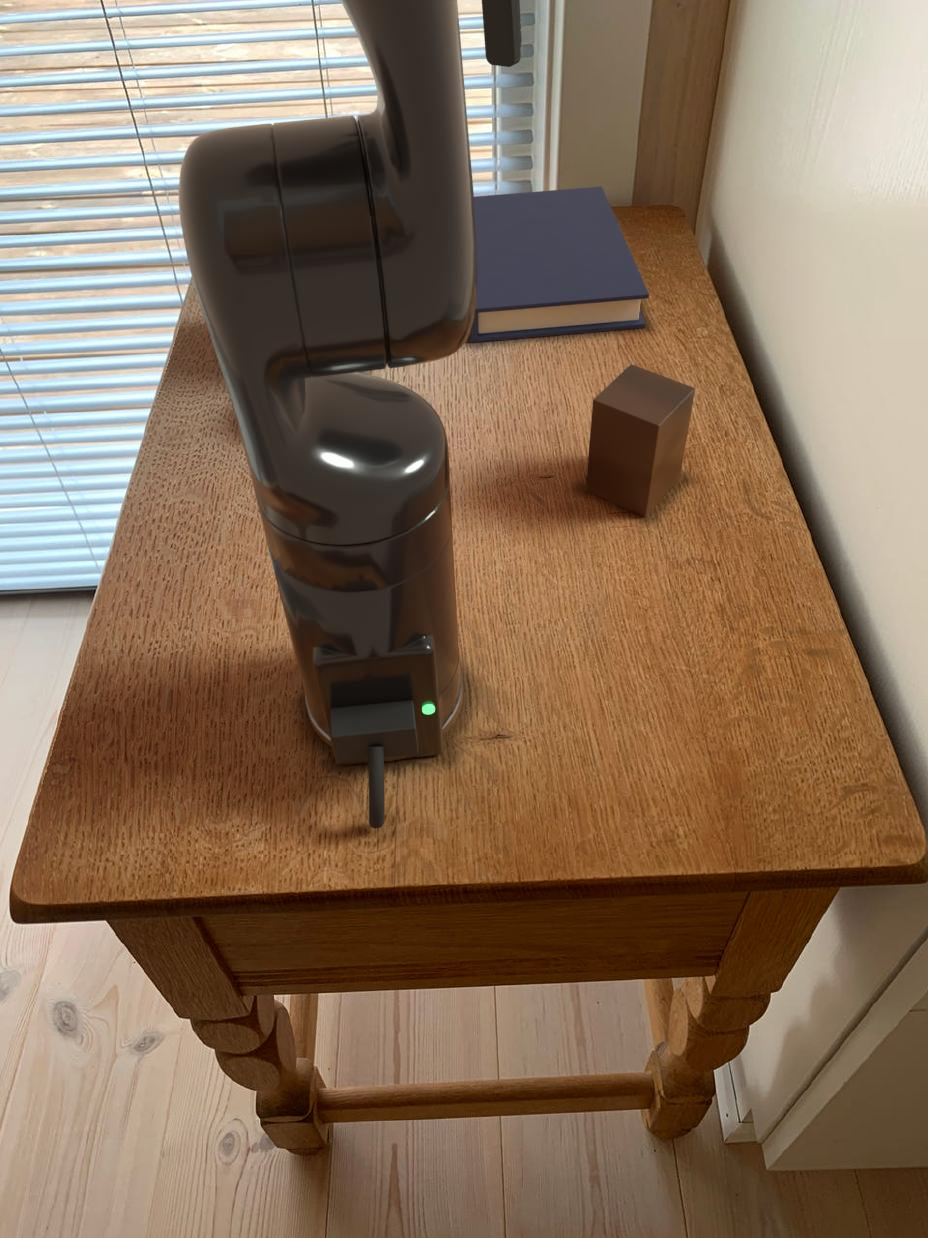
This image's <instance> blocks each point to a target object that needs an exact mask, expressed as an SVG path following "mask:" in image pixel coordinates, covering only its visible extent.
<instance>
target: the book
mask: <svg viewBox="0 0 928 1238" xmlns="http://www.w3.org/2000/svg"><path fill="white" fill-rule="evenodd" d="M474 207H475V222H476V238H477V259H478V282H477V300H476V307H475V313H474V320H473V324H472V327H471V330H470V333H469V340H470V343H473V344H474V343H481V342H482V343H483V342H484V343H485V342H495V341H496V342H497V341H509V340H517V339H518V340H519V339H530V338H531V339H532V338H540V337H541V338H542V337H553V336H563V335H564V336H565V335H575V334H576V335H577V334H587V333H598V332H599V333H601V332H610V331H621V330H634V329H645V328H646V325H647V324H646V321H645V319H644V316H643V314H642V311H641V309H640V308H641V301H642V300H645V299H650V293H649V290H648V287H647V285H646V283H645V282H644V278H643V277H642V275H641V272H640V270H639V268H638V265H637V264H636V261H635V259H634V257H633V254H632V252H631V250H630V248H629V245H628V243H627V241H626V238H625V236H624V234H623V232H622V229H621V227H620V225H619V222H618V220H617V217H616V216H615V213H614V212H613V209H612V207H611V205H610V202H609V200H608V198H607V194H606V193H605V190H604V189H603V186H590V187H578V188H564V189H552V190H541V191H529V192H528V191H527V192H516V193H515V192H513V193H501V194H490V195H476V196H474Z"/></svg>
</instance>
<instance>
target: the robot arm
mask: <svg viewBox="0 0 928 1238" xmlns="http://www.w3.org/2000/svg"><path fill="white" fill-rule="evenodd" d="M340 2H341V4H342V6H343V8H344V10H345V13H346V14H347V17H348V19H349V21H350V22H351V25H352V27H353V28H354V31H355V33H356V36H357V38H358V41H359V43H360V45H361V49H362V51H363V53H364V56H365V58H366V60H367V63H368V65H369V68H370V70H371V73H372V76H373V80H374V85H375V87H376V88H375V89H376V94H377V100H376V106H375V109H374V110H373V111H371V112H370V113H365V114H364V113H363V114H357V116H356V117H355V116H354V115H344V116H342V115H341V116H332V117H322V118H313V119H312V118H311V119H301V120H292V121H291V120H290V121H281V122H273V123H259V124H252V125H241V126H234V127H227V128H226V127H225V128H218V129H214V130H211V131H207V132H204V133H201V134H200V135H198V136H197V137H195V138H194V139H193V140H192V142H190V144H189V145H188V147H187V149H186V152H185V154H184V156H183V158H182V161H181V166H180V171H179V179H178V180H179V182H178V210H179V219H180V227H181V232H182V235H183V236H182V237H183V243H184V248H185V252H186V258H187V262H188V266H189V267H188V268H189V271H190V274H191V279H192V281H193V284H194V288H195V292H196V296H197V299H198V303H199V306H200V309H201V313H202V316H203V318H204V321H205V324H206V328H207V331H208V334H209V337H210V340H211V342H212V346H213V349H214V351H215V352H214V353H215V355H216V357H217V362H218V364H219V366H220V370H221V373H222V376H223V379H224V382H225V386H226V389H227V392H228V396H229V399H230V402H231V406H232V409H233V413H234V415H235V419H236V423H237V426H238V430H239V434H240V438H241V442H242V446H243V451H244V454H245V457H246V461H247V465H248V469H249V473H250V478H251V482H252V486H253V491H254V494H255V498H256V503H257V507H258V511H259V515H260V519H261V522H262V527H263V531H264V535H265V540H266V543H267V548H268V553H269V556H270V560H271V564H272V569H273V572H274V576H275V580H276V584H277V588H278V591H279V596H280V600H281V604H282V605H281V606H282V609H283V612H284V617H285V620H286V624H287V629H288V632H289V636H290V641H291V644H292V645H291V646H292V648H293V652H294V656H295V660H296V664H297V669H298V672H299V677H300V680H301V684H302V688H303V690H304V691H303V692H304V699H305V707H306V710H307V714H308V718H309V721H310V724H311V726H312V728H313V730H314V732H316V734H317V735H318V737H319V738H320V739H321V740H322V742H324V743H325V744H326V745H328V746H329V747H330V748H332V752H333V756H334V757H333V758H334V761H335V764H336V765H337V766H346V765H347V766H348V765H355V764H357V765H358V764H366V763H367V764H368V765H367V766H368V824H369V826H370V827H371V828H372V829H381V828H382V827H383V826H384V825H385V762H391V761H398V760H403V759H411V758H412V759H413V758H420V757H421V758H422V757H431V756H438V755H441V754H442V753H443V751H444V746H443V745H444V744H443V739H444V737H445V736H446V735H447V734H448V733H449V731H450V730H451V729H452V728H453V726H454V725H455V723H456V721H457V719H458V717H459V715H460V712H461V709H462V706H463V699H464V685H463V676H462V672H461V661H460V647H459V630H458V629H459V627H458V609H457V592H456V573H455V571H456V570H455V552H454V536H453V535H454V532H453V512H452V509H453V508H452V491H451V490H452V489H451V488H452V487H451V468H450V467H451V466H450V450H449V449H450V448H449V442H448V435H447V432H446V429H445V426H444V423H443V421H442V419H441V417H440V415H439V413H438V412H437V410H436V409H435V408H434V407H433V405H431V403H429V402H428V401H427V400H426V399H425V398H424V397H423V396H421V395H419V394H418V393H417V392H415V391H414V390H412V389H410V388H408V387H406V386H404V385H402V384H399V383H398V382H394V381H392V380H389V379H386V378H382V377H379V376H375V375H371V374H370V375H369V374H368V373H367V374H366V373H362V372H369V371H370V372H371V371H378V370H385V369H386V368H387V367H388V368H389V369H397V368H405V367H411V366H416V365H421V364H426V363H427V364H428V363H432V362H436V361H440V360H443V359H446V358H449V357H451V356H453V355H454V354H456V353H457V352H458V351H459V350H460V349H461V348H462V347H463V346H464V345H465V343H466V341H467V340H468V338H469V337H470V335H469V333H470V330H471V327H472V324H473V320H474V313H475V307H476V300H477V282H478V259H477V238H476V222H475V207H474V197H475V194H474V192H475V191H474V182H473V172H472V160H471V159H472V157H471V147H470V135H469V124H468V114H467V113H468V112H467V111H468V110H467V100H466V89H465V78H464V67H463V66H464V65H463V64H464V63H463V53H462V41H461V29H460V18H459V6H458V0H340ZM481 11H482V24H483V38H484V39H483V40H484V50H485V59H486V61H487V63H488V64H489V65H492V66H497V67H506V68H511V67H512V66H515V65H517V64H518V63H519V62H520V61H521V58H522V53H521V52H522V51H521V47H522V30H521V29H522V24H521V20H522V19H521V3H520V0H481Z"/></svg>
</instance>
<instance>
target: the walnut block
mask: <svg viewBox="0 0 928 1238" xmlns="http://www.w3.org/2000/svg"><path fill="white" fill-rule="evenodd" d="M695 393H696V387H694V386H690V385H688V384H684V383H682V382H680V381H677V380H675V379H672V378H669V377H668V376H667V377H666V376H664V375H662V374H659V373H656V372H654V371H651V370H649V369H645V368H643V367H640V366H637V365H635V364H630V365H628V366H627V367H626V368H625V369H624V370H623V371H622V372H620V374H619V375H617V376H616V377H615V378H614V380H612V381H611V382H610V383H609V384H608V385H607V386H606V387H605V388H604V389H603V390H601V392H599V393H598V394H597V395H596V396H595V397H594V398H593V399H592V407H591V409H592V410H591V418H590V419H591V420H590V431H589V444H588V455H587V458H588V459H587V466H586V467H587V468H586V479H585V491H586V492H588V493H590V494H593V495H595V496H597V497H599V498H602V499H604V500H606V501H608V502H610V503H613V504H615V505H617V506H619V507H621V508H623V509H626V510H629V511H631V512H632V513H635V514H637V515H640V516H642V517H644V518H646V517H647V516H648V515H649V514H650V513H651V512H652V511H653V509H654V508H656V506H657V505H658V504H659V503H660V502H661V500H662V499H663V498H664V497H665V496H666V495H667V494H668V493H669V492H670V490H671V489H672V488H674V486H675V485H676V484H677V483H678V482H679V480H680V479H681V473H682V468H683V462H684V457H685V450H686V445H687V438H688V434H689V433H688V432H689V429H690V428H689V427H690V422H691V416H692V412H693V411H692V410H693V405H694V399H695Z"/></svg>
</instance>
